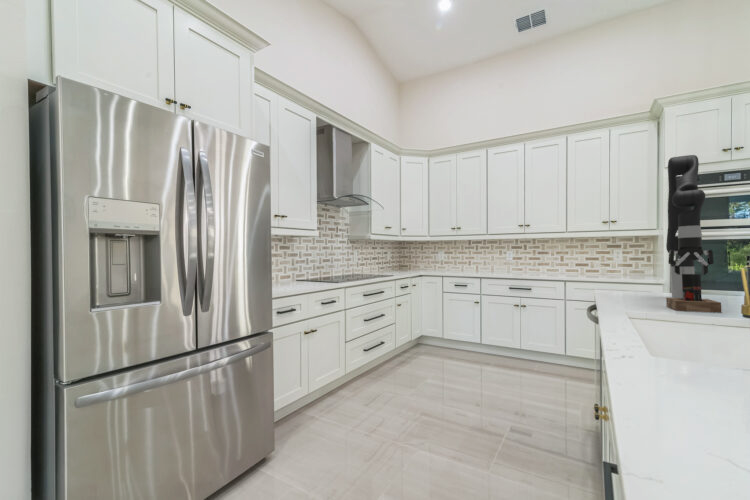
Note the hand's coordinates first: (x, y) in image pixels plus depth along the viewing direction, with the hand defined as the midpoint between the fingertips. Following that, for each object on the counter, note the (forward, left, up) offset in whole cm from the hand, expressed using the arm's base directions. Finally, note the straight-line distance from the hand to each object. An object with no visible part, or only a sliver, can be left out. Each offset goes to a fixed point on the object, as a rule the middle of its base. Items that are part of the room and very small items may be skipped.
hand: (690, 274), depth 148 cm
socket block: (0, 0, -15) cm, 15 cm away
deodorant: (0, 0, -15) cm, 15 cm away
